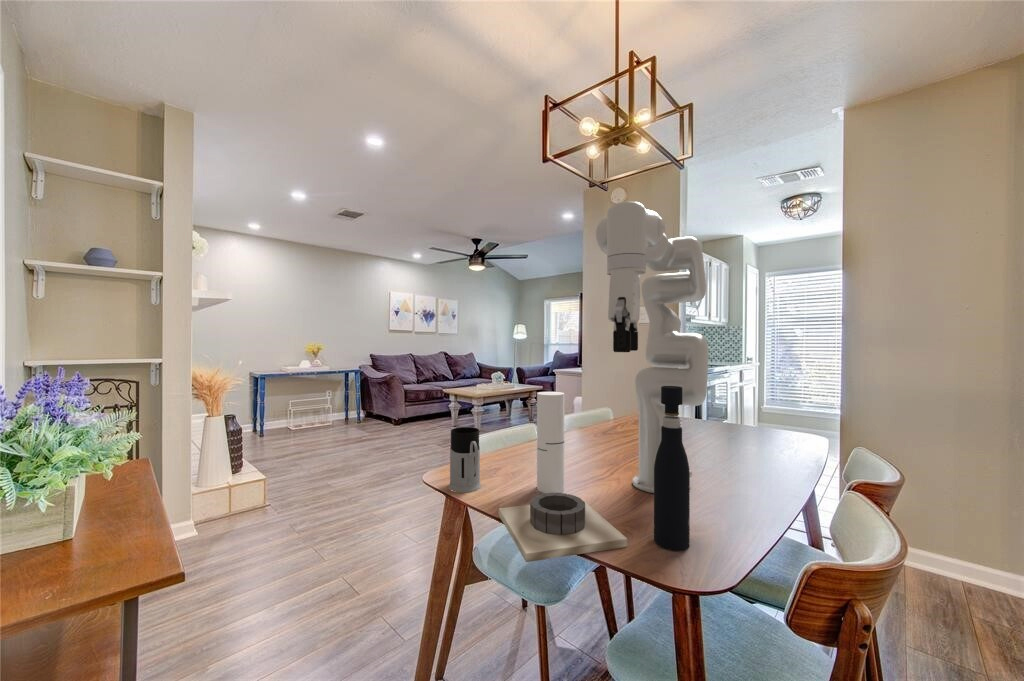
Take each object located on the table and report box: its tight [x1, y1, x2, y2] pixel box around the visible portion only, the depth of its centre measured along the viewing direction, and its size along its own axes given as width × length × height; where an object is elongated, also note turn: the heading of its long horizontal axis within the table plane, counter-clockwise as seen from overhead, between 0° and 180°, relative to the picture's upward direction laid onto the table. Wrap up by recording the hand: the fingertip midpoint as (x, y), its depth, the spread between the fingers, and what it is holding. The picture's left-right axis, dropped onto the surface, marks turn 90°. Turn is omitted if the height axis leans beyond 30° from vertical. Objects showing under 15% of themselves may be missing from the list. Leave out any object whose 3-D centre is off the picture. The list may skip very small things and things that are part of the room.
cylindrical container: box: [536, 391, 566, 494], centre depth 107 cm, size 7×7×25 cm
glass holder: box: [448, 426, 482, 494], centre depth 106 cm, size 9×14×15 cm, turn 23°
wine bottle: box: [653, 386, 691, 552], centre depth 79 cm, size 6×6×30 cm
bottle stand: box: [498, 492, 628, 563], centre depth 84 cm, size 20×20×6 cm
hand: (626, 351), depth 83 cm, fingers open, 9 cm apart
